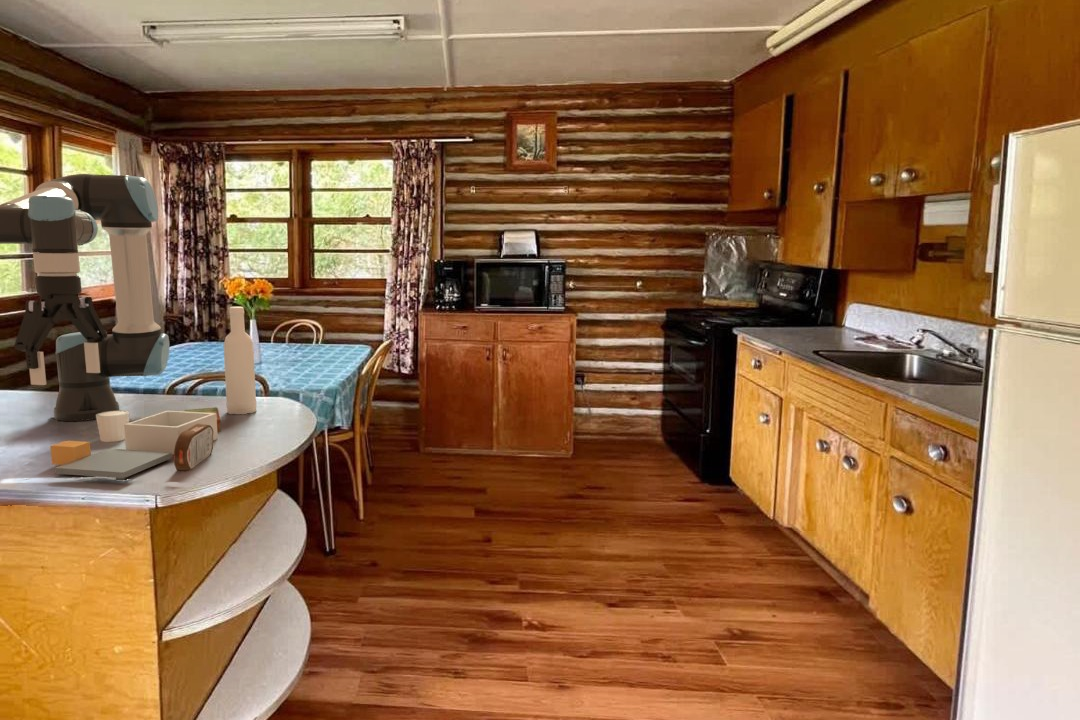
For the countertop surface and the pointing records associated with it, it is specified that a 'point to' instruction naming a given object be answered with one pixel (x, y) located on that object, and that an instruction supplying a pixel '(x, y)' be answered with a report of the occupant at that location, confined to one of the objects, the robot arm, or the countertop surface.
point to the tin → (193, 446)
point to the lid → (102, 460)
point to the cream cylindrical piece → (112, 425)
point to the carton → (209, 410)
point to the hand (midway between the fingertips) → (67, 378)
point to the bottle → (239, 366)
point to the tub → (164, 430)
